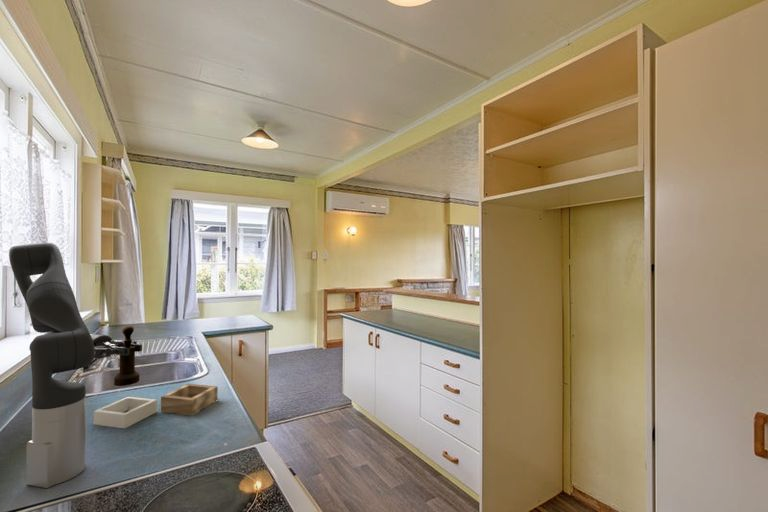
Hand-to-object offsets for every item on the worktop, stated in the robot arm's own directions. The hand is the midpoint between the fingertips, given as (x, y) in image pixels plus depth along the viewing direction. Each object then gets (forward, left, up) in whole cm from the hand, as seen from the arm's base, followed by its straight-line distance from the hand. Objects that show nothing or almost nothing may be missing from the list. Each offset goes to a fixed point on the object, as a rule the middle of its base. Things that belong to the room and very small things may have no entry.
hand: (134, 349), depth 111 cm
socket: (+12, -10, -22) cm, 27 cm away
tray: (0, +3, -22) cm, 22 cm away
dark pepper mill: (0, +3, -11) cm, 11 cm away
